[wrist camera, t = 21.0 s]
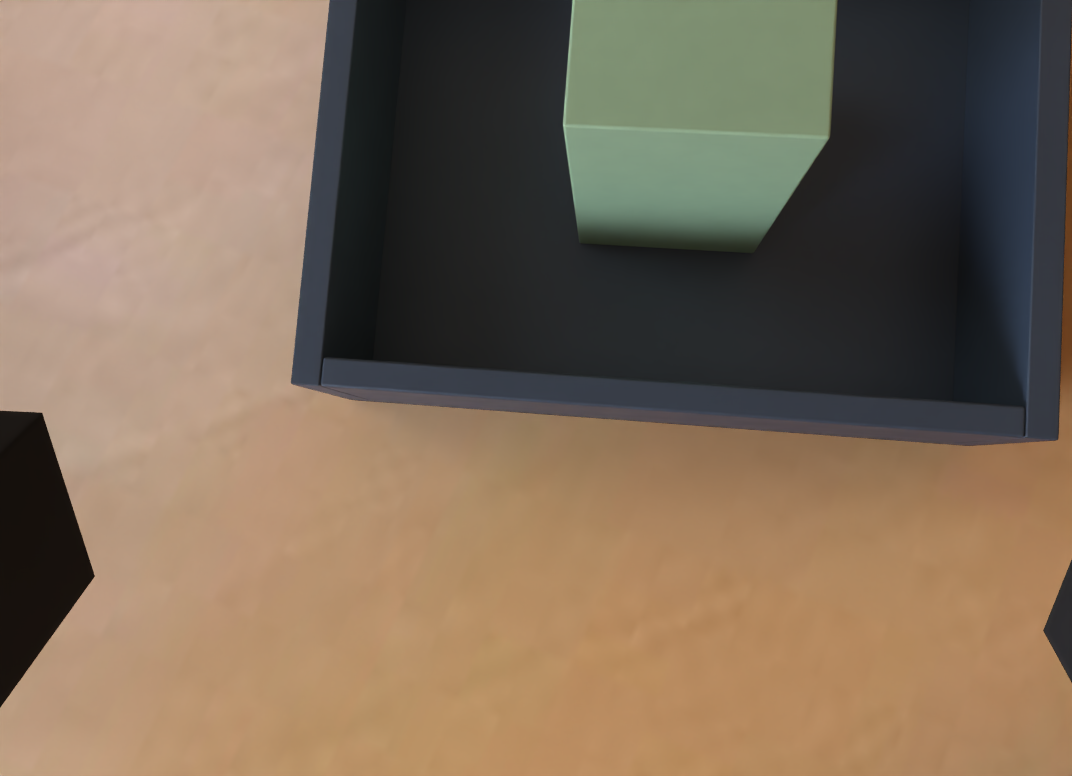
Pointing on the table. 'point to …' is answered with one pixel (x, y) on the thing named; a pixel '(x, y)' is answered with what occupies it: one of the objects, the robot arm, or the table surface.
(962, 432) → the bin
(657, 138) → the block
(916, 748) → the table surface
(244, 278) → the table surface
